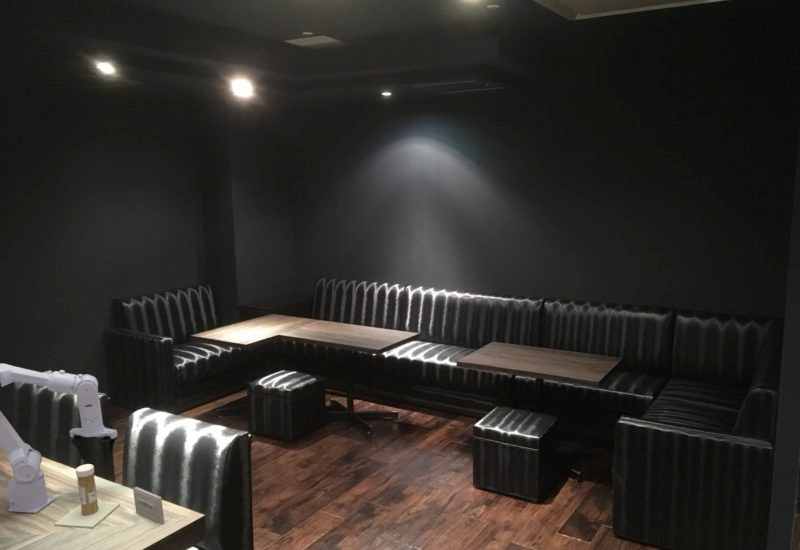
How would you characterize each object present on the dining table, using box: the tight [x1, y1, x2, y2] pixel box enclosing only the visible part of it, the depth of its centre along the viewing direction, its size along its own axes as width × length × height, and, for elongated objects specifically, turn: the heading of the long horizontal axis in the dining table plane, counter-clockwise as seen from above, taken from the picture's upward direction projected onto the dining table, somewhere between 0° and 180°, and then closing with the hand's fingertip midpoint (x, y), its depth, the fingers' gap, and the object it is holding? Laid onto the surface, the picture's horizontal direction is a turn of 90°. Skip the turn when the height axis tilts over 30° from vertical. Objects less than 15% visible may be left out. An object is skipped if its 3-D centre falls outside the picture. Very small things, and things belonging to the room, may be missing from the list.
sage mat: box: [54, 502, 121, 530], centre depth 185 cm, size 12×12×1 cm
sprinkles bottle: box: [75, 463, 99, 515], centre depth 185 cm, size 5×5×14 cm
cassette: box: [132, 486, 165, 525], centre depth 181 cm, size 12×2×8 cm, turn 55°
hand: (97, 459), depth 196 cm, fingers open, 7 cm apart
